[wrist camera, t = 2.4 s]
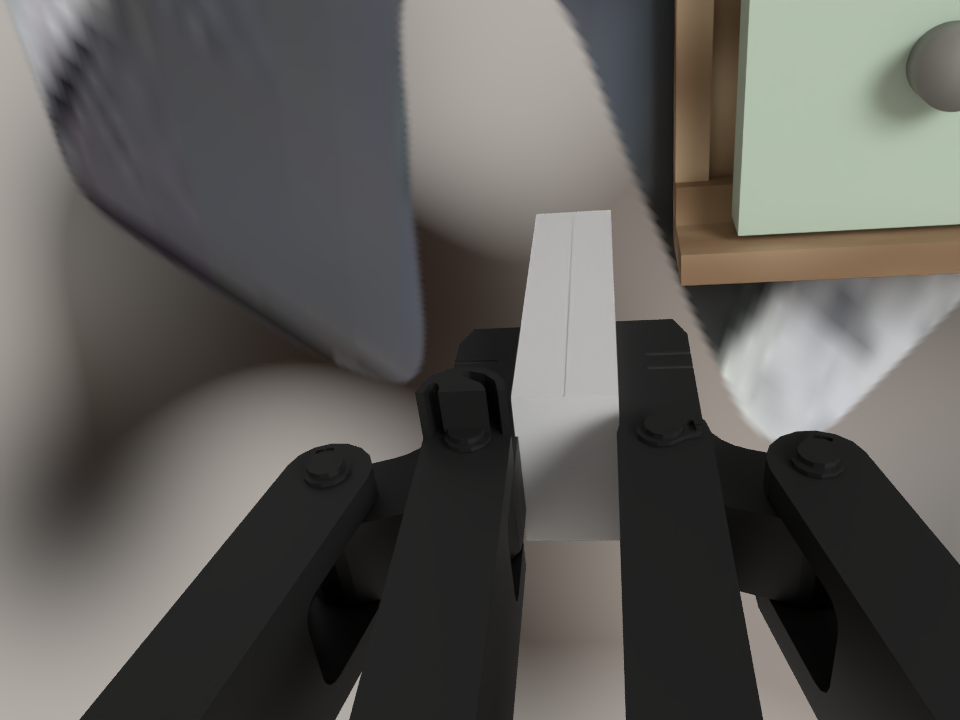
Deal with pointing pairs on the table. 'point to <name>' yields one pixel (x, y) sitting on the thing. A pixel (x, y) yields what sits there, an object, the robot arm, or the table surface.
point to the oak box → (709, 182)
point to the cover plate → (847, 115)
